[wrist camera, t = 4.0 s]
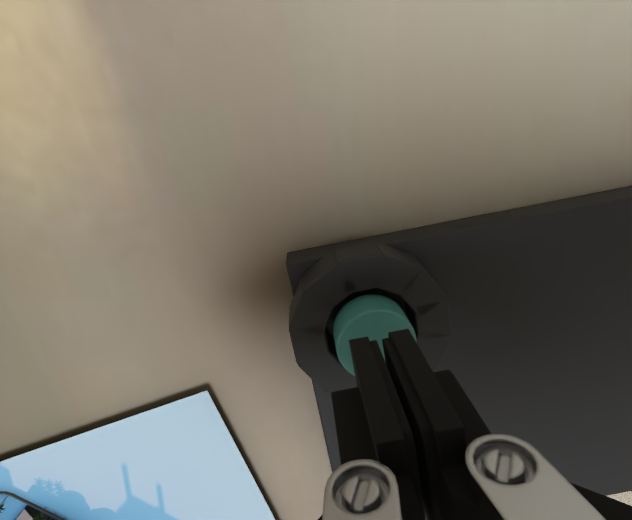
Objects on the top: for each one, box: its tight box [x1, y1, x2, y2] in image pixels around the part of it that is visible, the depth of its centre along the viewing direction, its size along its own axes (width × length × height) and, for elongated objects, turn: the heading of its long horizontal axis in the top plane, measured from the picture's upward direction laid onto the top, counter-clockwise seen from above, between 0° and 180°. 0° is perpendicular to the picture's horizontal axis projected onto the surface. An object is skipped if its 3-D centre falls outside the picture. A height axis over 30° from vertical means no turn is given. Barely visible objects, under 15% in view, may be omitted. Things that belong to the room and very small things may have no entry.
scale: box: [286, 186, 632, 520], centre depth 17 cm, size 16×14×3 cm
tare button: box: [333, 294, 416, 376], centre depth 14 cm, size 3×3×1 cm
